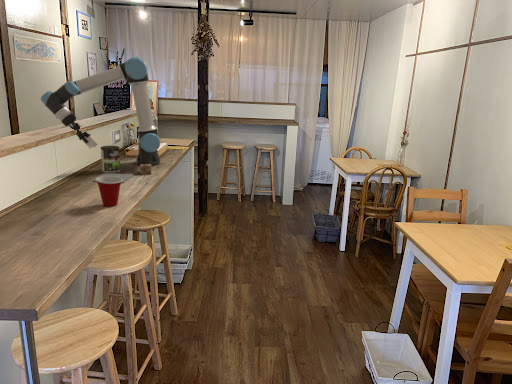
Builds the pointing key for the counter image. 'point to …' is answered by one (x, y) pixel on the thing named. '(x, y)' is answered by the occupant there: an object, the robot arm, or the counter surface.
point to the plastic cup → (109, 189)
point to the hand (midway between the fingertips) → (94, 146)
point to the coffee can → (110, 159)
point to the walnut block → (145, 168)
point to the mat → (123, 176)
